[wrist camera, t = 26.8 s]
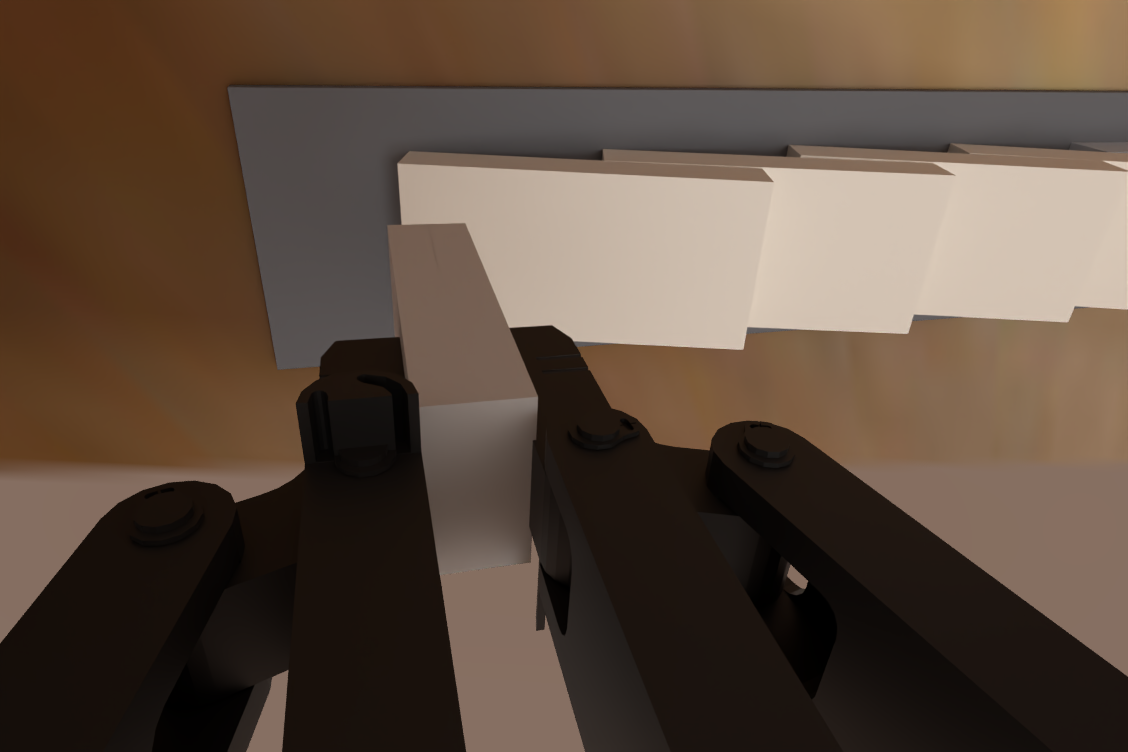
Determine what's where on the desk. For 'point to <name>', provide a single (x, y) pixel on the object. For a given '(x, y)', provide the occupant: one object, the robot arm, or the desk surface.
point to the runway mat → (553, 130)
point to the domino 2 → (837, 238)
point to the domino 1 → (604, 241)
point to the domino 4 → (1124, 257)
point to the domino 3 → (1009, 230)
